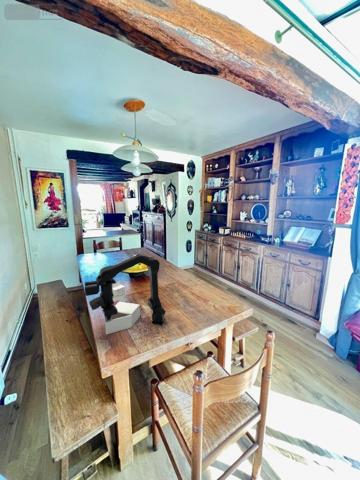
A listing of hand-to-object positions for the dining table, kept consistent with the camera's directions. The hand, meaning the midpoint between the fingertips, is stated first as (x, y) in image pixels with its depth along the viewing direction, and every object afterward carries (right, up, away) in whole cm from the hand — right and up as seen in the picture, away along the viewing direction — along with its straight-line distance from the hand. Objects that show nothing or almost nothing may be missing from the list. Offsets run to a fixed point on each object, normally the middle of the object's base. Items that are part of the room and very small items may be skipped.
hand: (108, 319), depth 107 cm
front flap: (+5, -8, +4) cm, 10 cm away
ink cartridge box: (-5, -3, +36) cm, 36 cm away
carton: (+5, -6, +16) cm, 17 cm away
